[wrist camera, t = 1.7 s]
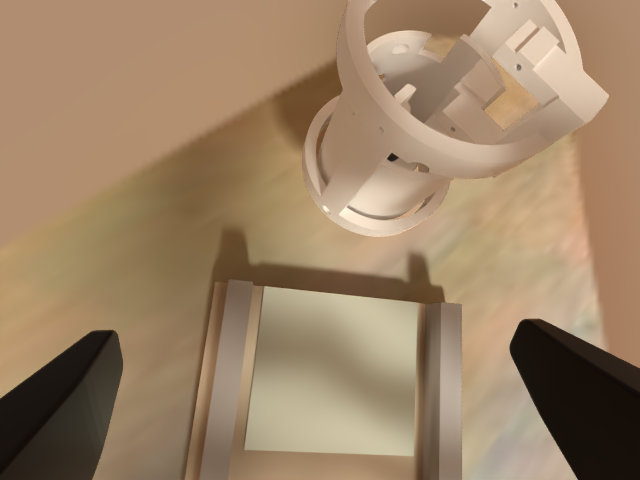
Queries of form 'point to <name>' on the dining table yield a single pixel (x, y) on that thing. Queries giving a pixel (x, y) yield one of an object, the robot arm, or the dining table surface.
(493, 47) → the beige tall round piece
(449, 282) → the dining table surface
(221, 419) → the rail board
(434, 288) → the dining table surface
